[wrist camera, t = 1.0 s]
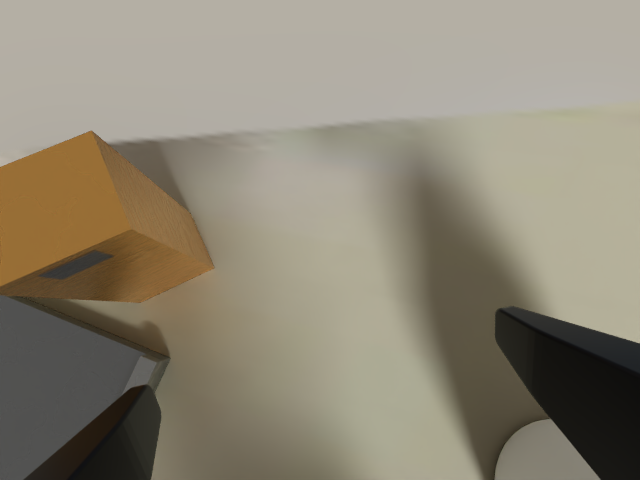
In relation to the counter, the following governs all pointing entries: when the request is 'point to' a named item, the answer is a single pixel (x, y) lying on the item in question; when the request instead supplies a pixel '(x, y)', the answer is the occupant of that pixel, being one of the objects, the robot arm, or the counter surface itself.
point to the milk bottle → (541, 456)
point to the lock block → (92, 228)
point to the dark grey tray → (58, 380)
